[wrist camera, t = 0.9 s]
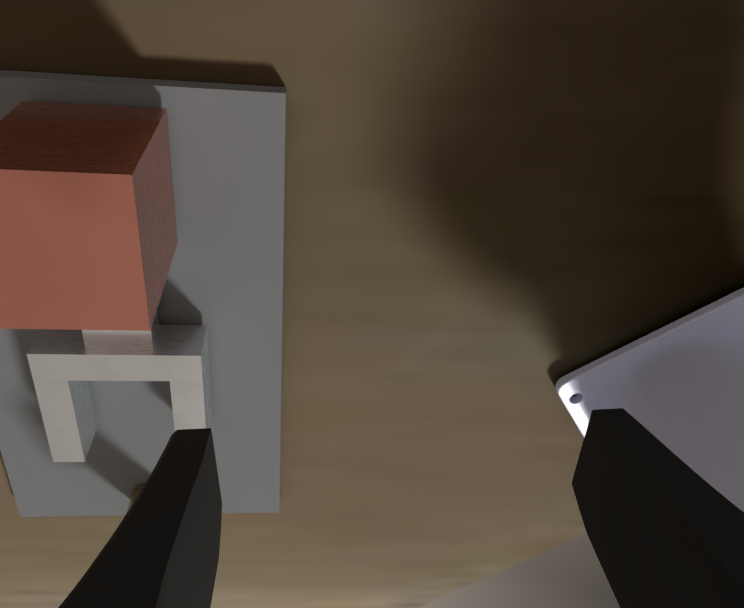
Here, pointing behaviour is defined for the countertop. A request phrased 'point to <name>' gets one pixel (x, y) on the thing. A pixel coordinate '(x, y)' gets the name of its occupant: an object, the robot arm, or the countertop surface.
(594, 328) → the countertop surface
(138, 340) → the pink cube with handle
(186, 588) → the robot arm
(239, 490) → the mat
